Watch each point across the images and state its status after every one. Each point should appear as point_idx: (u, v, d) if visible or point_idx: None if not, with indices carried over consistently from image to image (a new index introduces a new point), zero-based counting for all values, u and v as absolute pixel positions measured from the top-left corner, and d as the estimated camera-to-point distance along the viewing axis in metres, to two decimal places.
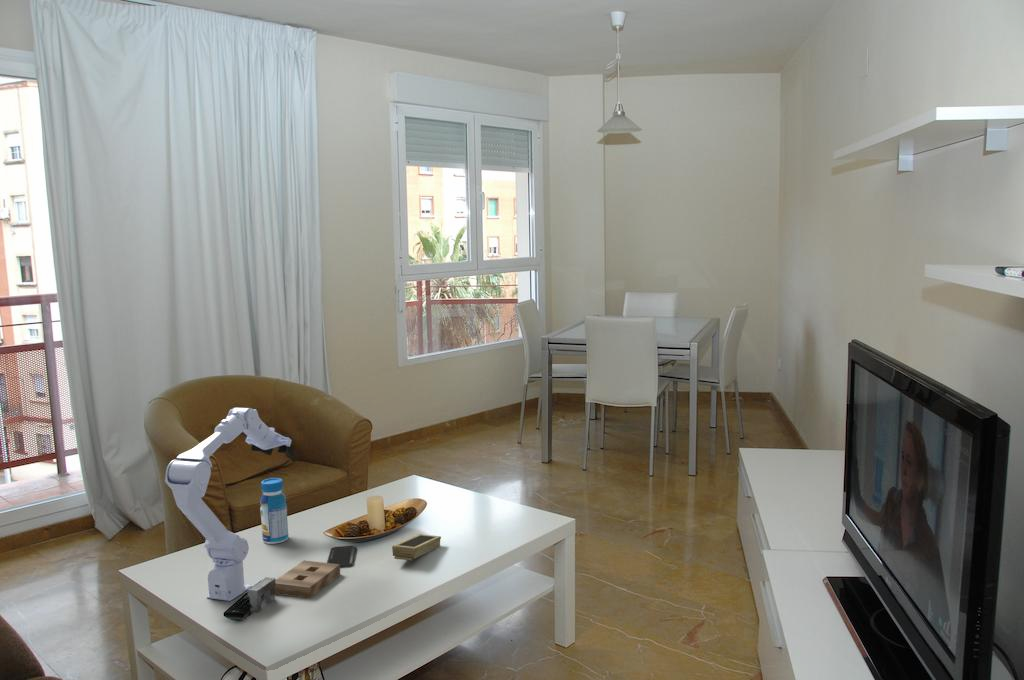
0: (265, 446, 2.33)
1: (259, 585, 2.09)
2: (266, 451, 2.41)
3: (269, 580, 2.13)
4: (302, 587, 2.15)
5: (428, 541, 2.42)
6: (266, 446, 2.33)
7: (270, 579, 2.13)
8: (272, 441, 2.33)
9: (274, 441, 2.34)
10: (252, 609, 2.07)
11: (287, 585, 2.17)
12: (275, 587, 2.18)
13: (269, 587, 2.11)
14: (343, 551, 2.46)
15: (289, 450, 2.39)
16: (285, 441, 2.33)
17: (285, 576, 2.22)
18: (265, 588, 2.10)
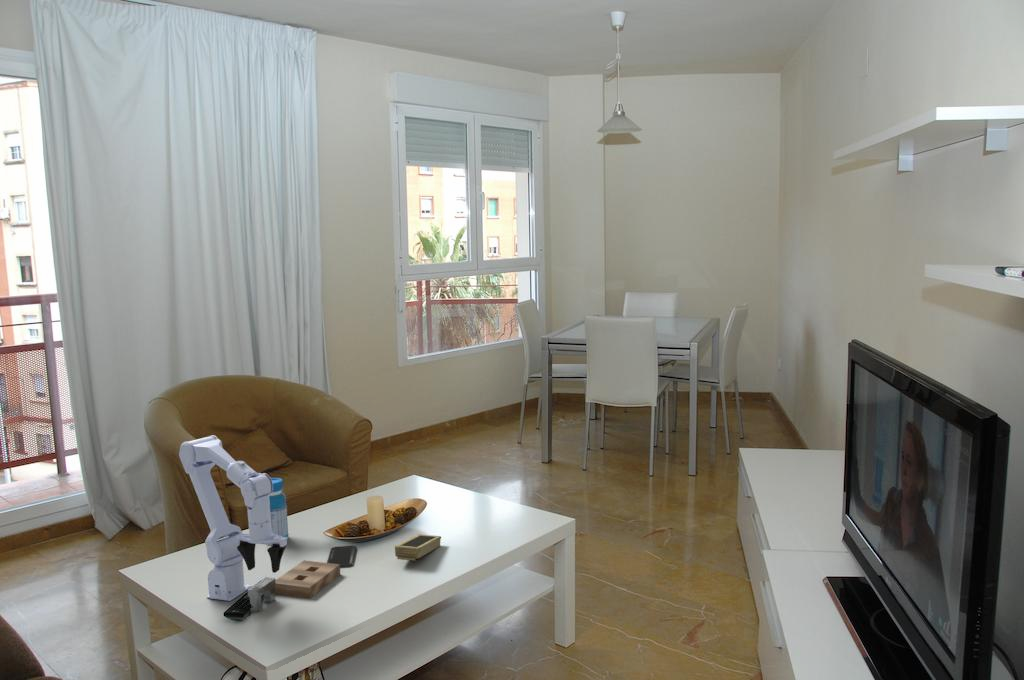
0: (258, 537, 2.06)
1: (259, 585, 2.09)
2: (249, 561, 2.10)
3: (269, 580, 2.13)
4: (302, 587, 2.15)
5: (430, 541, 2.42)
6: (259, 538, 2.06)
7: (270, 579, 2.13)
8: (267, 536, 2.08)
9: (269, 538, 2.08)
10: (252, 609, 2.07)
11: (287, 585, 2.17)
12: (275, 587, 2.18)
13: (269, 587, 2.11)
14: (343, 551, 2.46)
15: (276, 561, 2.08)
16: (281, 539, 2.07)
17: (285, 576, 2.22)
18: (265, 588, 2.09)
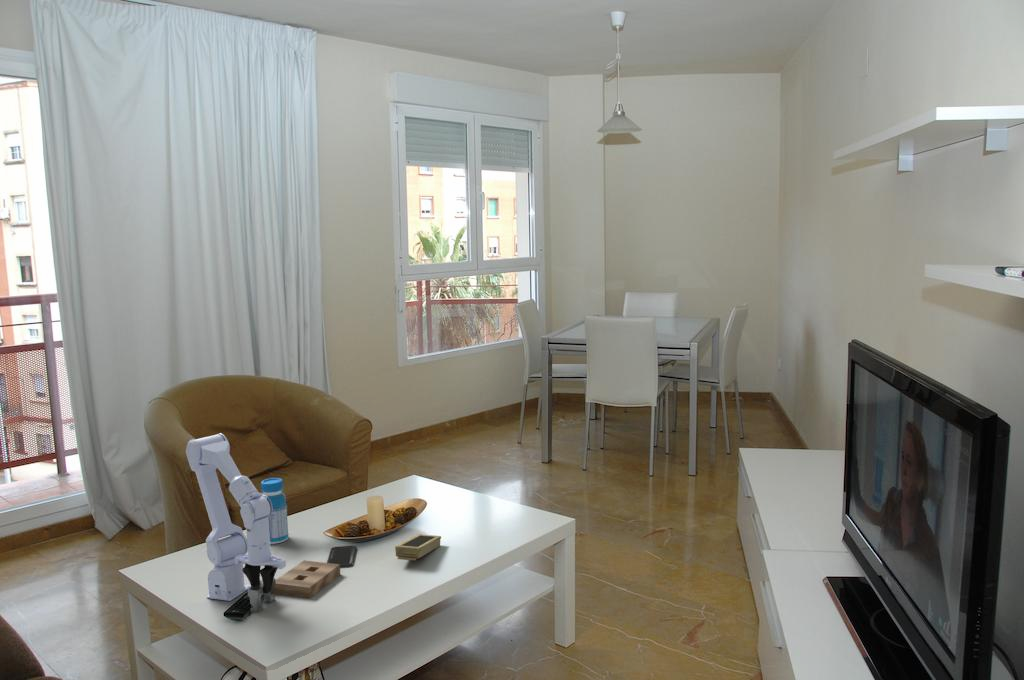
0: (256, 559, 2.07)
1: (259, 585, 2.09)
2: (254, 582, 2.10)
3: None
4: (302, 587, 2.15)
5: (430, 541, 2.42)
6: (257, 560, 2.07)
7: None
8: (266, 558, 2.08)
9: (268, 559, 2.08)
10: (252, 609, 2.07)
11: (287, 585, 2.17)
12: (275, 587, 2.18)
13: None
14: (343, 551, 2.46)
15: (268, 582, 2.09)
16: (280, 561, 2.07)
17: (285, 576, 2.22)
18: None
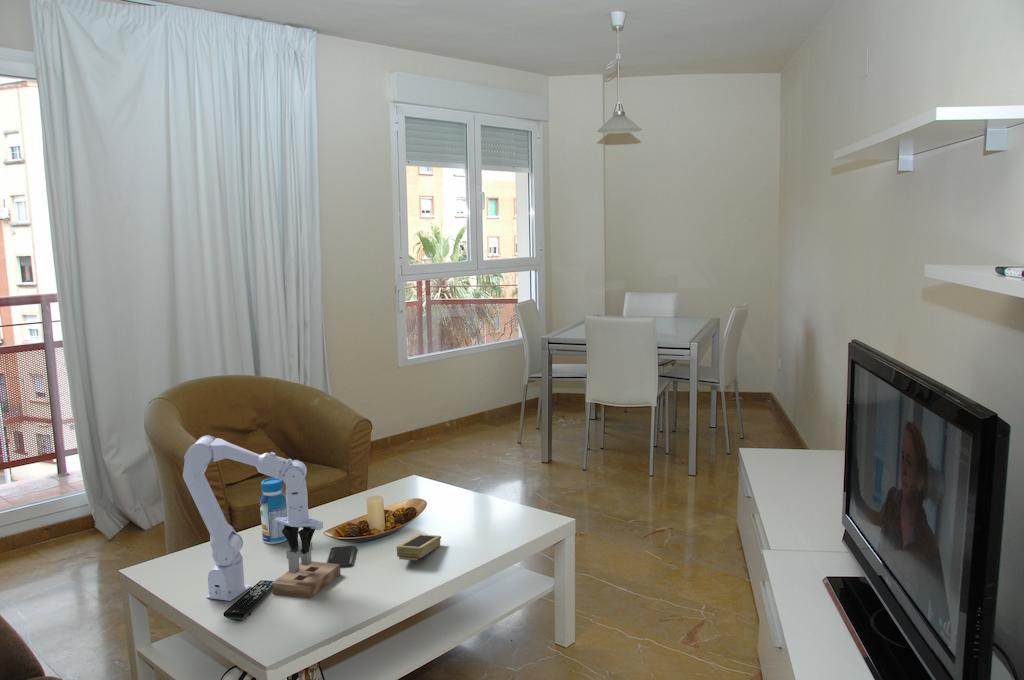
0: (296, 521, 2.17)
1: (297, 548, 2.20)
2: (293, 543, 2.21)
3: None
4: (302, 587, 2.15)
5: (430, 541, 2.42)
6: (296, 521, 2.17)
7: None
8: (304, 519, 2.19)
9: (306, 521, 2.19)
10: (290, 570, 2.18)
11: (287, 585, 2.17)
12: (275, 587, 2.18)
13: None
14: (343, 551, 2.46)
15: (306, 543, 2.20)
16: None
17: (285, 576, 2.22)
18: (302, 551, 2.20)
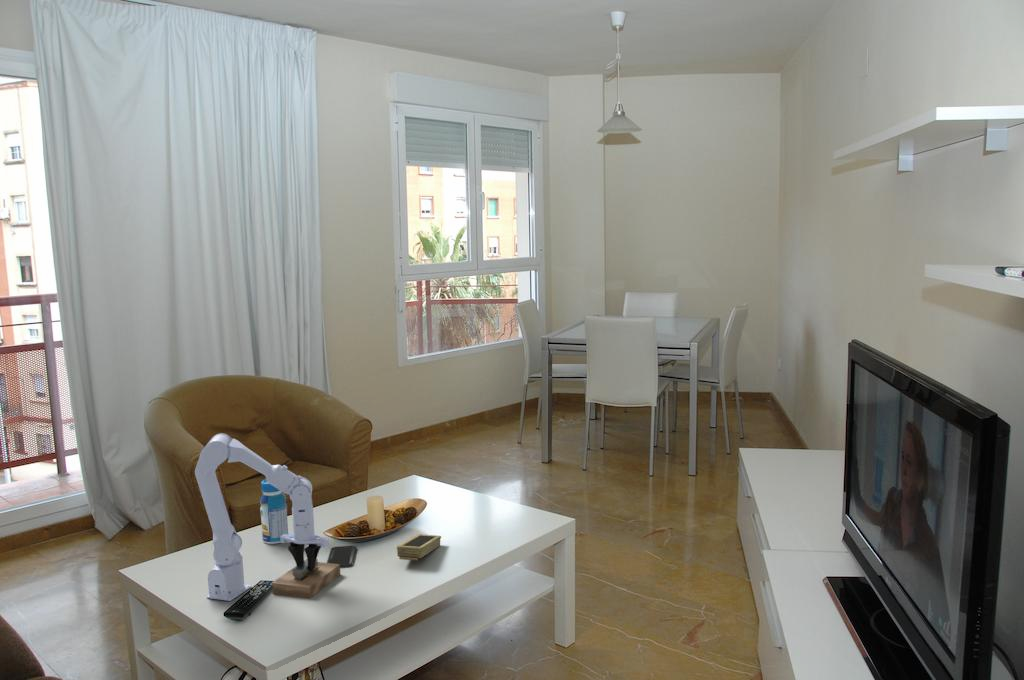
0: (302, 538, 2.20)
1: (303, 565, 2.22)
2: (299, 560, 2.23)
3: None
4: (302, 587, 2.15)
5: (431, 541, 2.42)
6: (303, 539, 2.20)
7: None
8: (310, 537, 2.21)
9: (312, 538, 2.21)
10: None
11: (287, 585, 2.17)
12: (275, 587, 2.18)
13: None
14: (343, 551, 2.46)
15: (312, 560, 2.22)
16: (323, 540, 2.20)
17: (285, 576, 2.22)
18: None
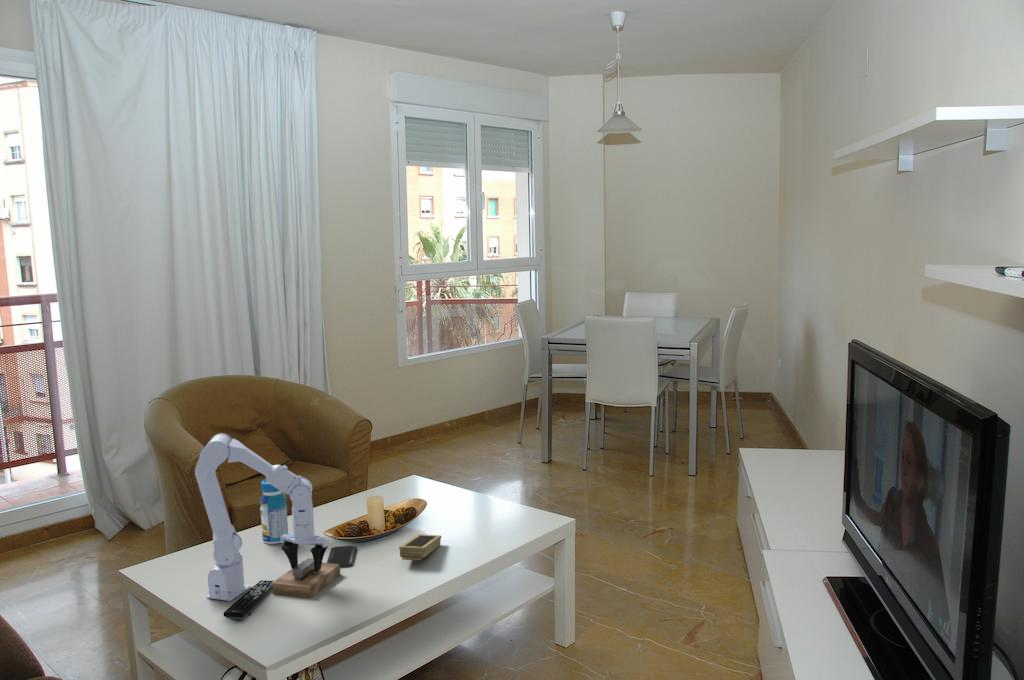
0: (302, 538, 2.20)
1: (303, 565, 2.22)
2: (292, 560, 2.23)
3: (312, 560, 2.25)
4: (302, 587, 2.15)
5: (432, 540, 2.42)
6: (303, 539, 2.20)
7: (313, 560, 2.26)
8: (310, 537, 2.21)
9: (312, 538, 2.21)
10: None
11: (287, 585, 2.17)
12: (275, 587, 2.18)
13: (312, 567, 2.24)
14: (343, 551, 2.46)
15: (318, 561, 2.22)
16: (323, 540, 2.20)
17: (285, 576, 2.22)
18: (308, 568, 2.22)
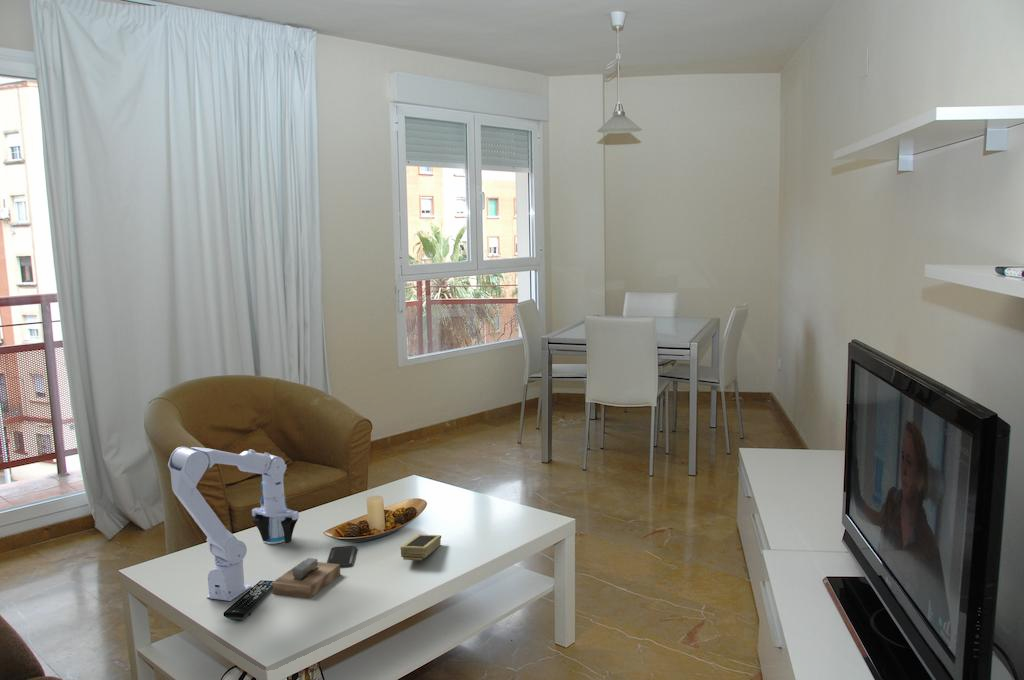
0: (272, 511, 2.26)
1: (303, 565, 2.22)
2: (263, 532, 2.30)
3: (312, 560, 2.25)
4: (302, 587, 2.15)
5: (432, 540, 2.42)
6: (273, 511, 2.26)
7: (312, 560, 2.26)
8: (281, 510, 2.28)
9: (282, 511, 2.28)
10: None
11: (287, 585, 2.17)
12: (275, 587, 2.18)
13: (312, 567, 2.24)
14: (343, 551, 2.46)
15: (288, 533, 2.29)
16: None
17: (285, 576, 2.22)
18: (308, 568, 2.22)
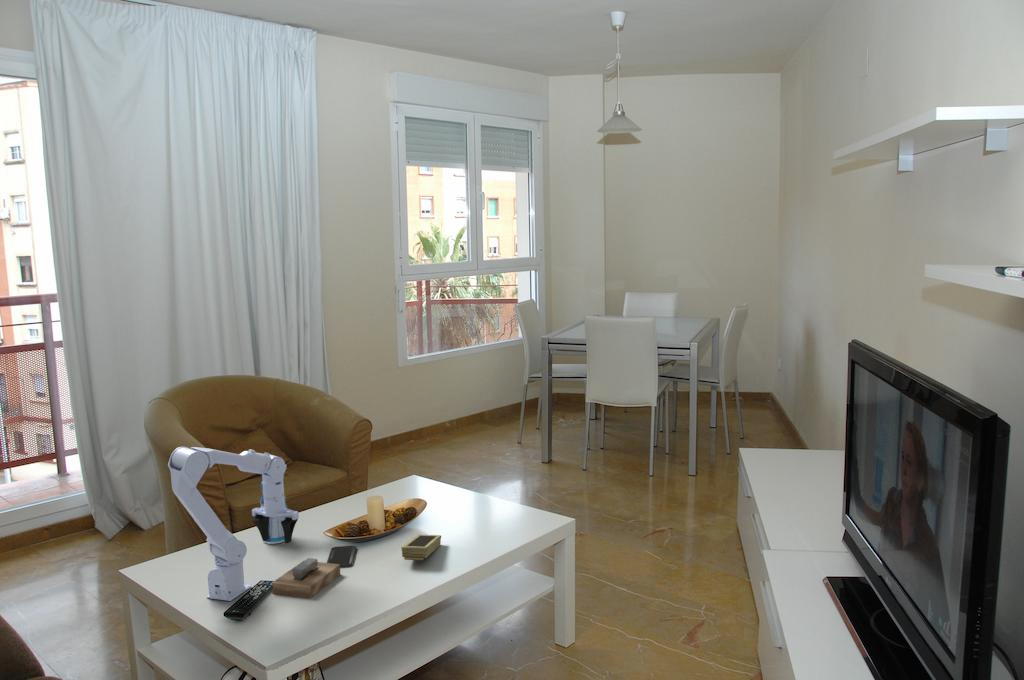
0: (272, 511, 2.26)
1: (303, 565, 2.22)
2: (263, 532, 2.30)
3: (312, 560, 2.25)
4: (302, 587, 2.15)
5: (433, 540, 2.42)
6: (273, 511, 2.26)
7: (312, 560, 2.26)
8: (281, 510, 2.28)
9: (282, 511, 2.28)
10: None
11: (287, 585, 2.17)
12: (275, 587, 2.18)
13: (312, 567, 2.24)
14: (343, 551, 2.46)
15: (288, 533, 2.29)
16: None
17: (285, 576, 2.22)
18: (308, 568, 2.22)
